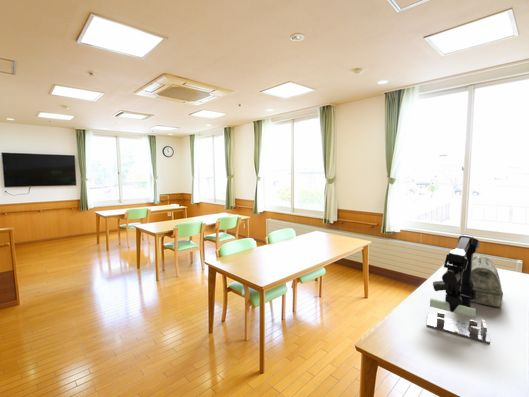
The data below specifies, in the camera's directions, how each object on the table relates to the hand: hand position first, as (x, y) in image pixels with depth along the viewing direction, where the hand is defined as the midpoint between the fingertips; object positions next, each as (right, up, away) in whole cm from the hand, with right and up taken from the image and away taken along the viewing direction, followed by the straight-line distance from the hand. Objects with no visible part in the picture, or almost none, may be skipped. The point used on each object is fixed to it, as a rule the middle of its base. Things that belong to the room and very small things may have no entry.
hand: (451, 309), depth 131 cm
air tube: (0, +1, 0) cm, 1 cm away
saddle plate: (+2, -9, 0) cm, 9 cm away
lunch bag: (+39, -5, +31) cm, 50 cm away
